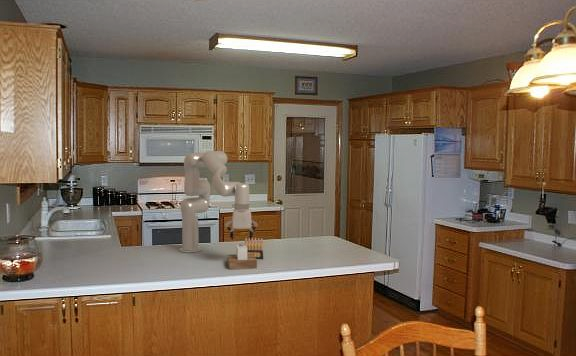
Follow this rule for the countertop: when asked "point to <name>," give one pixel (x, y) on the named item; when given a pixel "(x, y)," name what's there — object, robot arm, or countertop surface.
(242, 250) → the block
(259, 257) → the ammunition clip
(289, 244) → the countertop surface
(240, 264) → the walnut stand
